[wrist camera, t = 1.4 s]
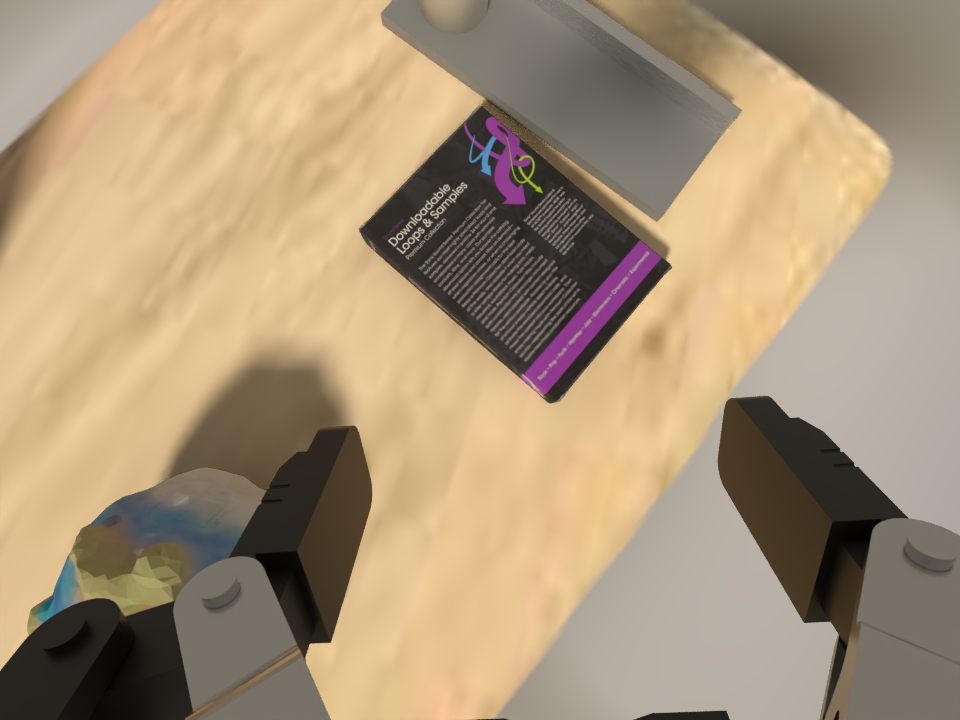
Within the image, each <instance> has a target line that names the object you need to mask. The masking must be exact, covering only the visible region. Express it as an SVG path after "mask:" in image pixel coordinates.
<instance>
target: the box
mask: <svg viewBox="0 0 960 720" xmlns="http://www.w3.org/2000/svg"><path fill="white" fill-rule="evenodd" d="M359 232H360V233H361V235H362V237H363V239H364V241H365V242H366V243H367V244H368V245H369V246H370V247H371V248H372V249H373V250H374V251H375V252H376V253H377V254H378V255H379V256H381V257H382V258H383V259H384V260H385V261H386V262H387V263H389V264H390V265H391V266H392V267H393V268H394V269H395V270H397V271H398V272H399V273H400V274H401V275H402V276H404V277H405V278H406V279H407V280H408V281H409V282H410V283H411V284H413V285H414V286H415V287H416V288H417V289H418V290H420V291H421V292H422V293H423V294H424V295H425V296H426V297H428V298H429V299H430V300H431V301H432V302H433V303H434V304H436V305H437V306H438V307H439V308H440V309H441V310H442V311H444V312H445V313H446V314H447V315H448V316H449V317H450V318H451V319H453V320H454V321H455V322H456V323H457V324H458V325H460V326H461V327H462V328H463V329H464V330H465V331H466V332H467V333H469V334H470V335H471V336H472V337H473V338H474V339H475V340H476V341H478V342H479V343H480V344H481V345H482V346H483V347H485V348H486V349H487V350H488V351H489V352H490V353H492V354H493V355H494V356H495V357H496V358H497V359H498V360H500V361H501V362H502V363H503V364H504V365H506V366H507V367H508V368H509V369H510V370H511V371H513V372H514V373H515V374H516V375H517V376H518V377H519V378H521V379H522V380H523V381H524V382H525V383H526V384H528V385H529V386H530V387H531V388H532V389H533V390H534V391H536V392H537V393H538V394H539V395H540V396H541V397H542V398H544V399H545V400H546V401H547V402H548V403H555V402H558V401H560V400H561V399H562V398H563V397H564V396H565V394H566V392H567V391H568V390H569V388H570V387H571V386H572V385H573V384H574V382H575V381H576V380H577V379H578V377H579V376H580V375H581V374H582V373H583V371H584V370H585V369H586V368H587V367H588V366H589V364H590V363H591V362H592V361H593V359H594V358H595V357H596V356H597V355H598V353H599V352H600V351H601V350H602V349H603V347H604V346H605V345H606V344H607V343H608V341H609V340H610V339H611V338H612V337H613V335H614V334H615V333H616V332H617V331H618V330H619V328H620V327H621V326H622V325H623V324H624V322H625V321H626V320H627V319H628V318H629V316H630V315H631V314H632V313H633V312H634V310H635V309H636V308H637V307H638V305H639V304H640V303H641V302H642V301H643V300H644V298H645V297H646V296H647V295H648V294H649V292H650V291H651V290H652V289H653V288H654V287H655V286H656V284H657V283H658V282H659V280H660V279H661V278H662V277H663V276H664V275H665V274H666V273H667V272H668V271H669V270H670V269H671V268H672V266H671V265H670V263H668V262H667V261H666V260H664V259H663V258H662V257H660V256H659V255H658V254H657V253H655V252H654V251H653V250H652V249H651V248H649V247H648V246H647V245H646V244H645V243H643V242H642V241H641V240H640V239H639V238H637V237H636V236H635V235H634V234H633V233H631V232H630V231H629V230H628V229H627V228H625V227H624V226H623V225H622V224H621V223H620V222H618V221H617V220H616V219H615V218H614V217H612V216H611V215H610V214H609V213H608V212H606V211H605V210H604V209H603V208H602V207H600V206H599V205H598V204H597V203H596V202H594V201H593V200H592V199H591V198H590V197H588V196H587V195H586V194H585V193H584V192H583V191H581V190H580V189H579V188H578V187H577V186H575V185H574V184H573V183H572V182H571V181H570V180H568V179H567V178H566V177H565V176H564V175H562V174H561V173H560V172H559V171H557V170H556V169H555V168H554V167H553V166H552V165H551V164H549V163H548V162H547V161H546V160H545V159H543V158H542V157H541V156H540V155H539V154H537V153H536V152H535V151H534V150H533V149H531V148H530V147H529V146H528V145H527V144H525V143H524V142H523V141H522V140H521V139H519V138H518V137H517V136H516V135H515V134H513V133H512V132H511V131H510V130H509V129H507V128H506V127H505V126H504V125H503V124H501V123H500V122H499V121H498V120H497V119H496V118H495V117H494V116H492V115H491V114H490V113H489V112H488V111H487V110H485V109H484V108H483V107H482V106H478V107H477V108H476V109H475V110H474V111H473V112H472V115H471V116H470V117H469V118H468V119H467V120H466V121H465V122H464V123H463V124H462V125H461V126H460V127H459V128H458V129H457V130H456V131H455V132H454V133H453V134H452V135H451V136H450V137H449V138H448V139H447V140H446V141H445V142H444V143H443V144H442V145H441V146H440V147H439V148H438V149H437V150H436V151H435V152H434V153H433V154H432V156H431V157H430V158H429V159H428V160H427V161H426V162H425V163H424V164H423V165H422V166H421V167H420V168H419V169H418V170H417V171H416V172H415V173H414V174H413V175H412V176H411V177H410V178H409V179H408V180H407V181H406V182H405V183H404V184H403V185H402V186H401V187H400V188H399V190H398V191H397V192H396V193H395V194H394V195H393V196H392V197H391V198H390V199H389V200H388V201H387V202H386V203H385V204H384V205H383V206H382V207H381V208H380V209H379V210H378V211H377V212H376V213H375V214H374V215H373V216H372V217H371V218H370V219H369V220H368V221H366V222H365V223H364V224H363V225H362V226H361V227H360V228H359Z"/></svg>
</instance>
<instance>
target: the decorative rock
mask: <svg viewBox="0 0 960 720" xmlns="http://www.w3.org/2000/svg"><path fill="white" fill-rule="evenodd" d="M265 493H266V491H265V490H263V489H261V488H259V487H257V486H256V485H255V484H253V483H252V482H250V481H249V480H248V479H246V478H245V477H243V476H241V475H237V474H232V473H229V472H225V471H222V470H219V469H213V468H208V467H204V468H199V469H194V470H191V471H187V472H184V473H181V474H178V475H176V476H174V477H172V478H168V479H166V480H164V481H163V482H162V483H160V484H158V485H156V486H154V487H152V488H150V489H147V490H144V491H141V492H138V493H135V494H132V495H128V496H125V497H123V498H121V499H119V500H117V501H116V502H114V503H113V504H111V505H110V506H109V507H107V508H106V509H105V510H104V511H103V512H102V513H101V514H100V515H99V516H98V517H97V518H96V519H95V520H94V521H93V522H92V523H91V524H90V525H88V526H86V527H84V528H82V529H81V531H80V533H79V534H78V536H77V537H76V540H75V543H74V545H73V548H72V551H71V552H70V554H69V556H68V557H67V560H66V562H65V565H64V567H63V570H62V572H61V574H60V576H59V579H58V581H57V583H56V586H55V589H54V592H53V595H52V596H50V597H49V598H47V599H46V600H44V601H42V602H41V603H39V604H38V605H36V606H35V607H34V608H32V609H31V611H30V615H29V620H28V630H27V632H28V634H29V635H30V634H31V633H32V632H33V631H34V630H35V629H36V628H38V627H39V626H40V625H41V624H42V623H44V622H45V621H46V620H48V619H49V618H51V617H52V616H53V615H55V614H57V613H58V612H60V611H62V610H64V609H66V608H68V607H70V606H72V605H74V604H77V603H79V602H82V601H86V600H90V599H95V598H105V599H110V600H112V601H114V602H115V603H116V604H117V605H118V606H119V608H120V609H121V611H122V613H123V614H124V616H128V615H131V614H134V613H137V612H141V611H144V610H147V609H150V608H153V607H156V606H159V605H162V604H166V603H169V602H172V601H174V600H176V598H177V596H178V595H179V593H180V591H181V590H182V589H183V587H184V586H185V585H186V584H187V583H188V582H189V581H190V580H191V579H192V578H193V577H194V576H195V575H196V574H198V573H199V572H200V571H202V570H203V569H205V568H206V567H208V566H210V565H212V564H214V563H216V562H218V561H221V560H224V559H227V558H229V556H230V554H231V552H232V551H233V549H234V547H235V545H236V544H237V542H238V540H239V538H240V537H241V535H242V533H243V531H244V530H245V528H246V526H247V524H248V523H249V521H250V519H251V517H252V516H253V514H254V512H255V510H256V509H257V507H258V505H259V504H261V500H262V498H263V496H264V495H265ZM304 660H305V662H306V659H304Z"/></svg>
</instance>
